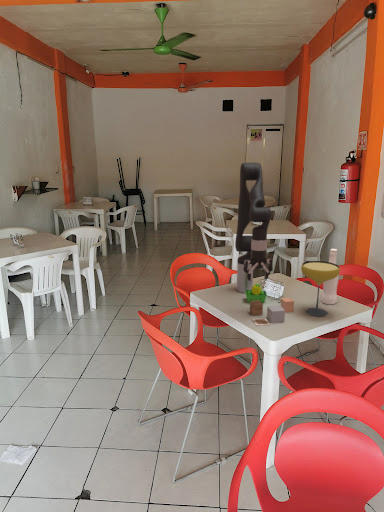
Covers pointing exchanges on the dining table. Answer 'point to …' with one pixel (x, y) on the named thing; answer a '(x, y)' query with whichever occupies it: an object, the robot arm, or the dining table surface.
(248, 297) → the fruit basket
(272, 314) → the grey block
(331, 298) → the bottle
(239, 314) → the dining table surface
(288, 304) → the terracotta block
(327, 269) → the cocktail glass
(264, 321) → the tile
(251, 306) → the walnut block
